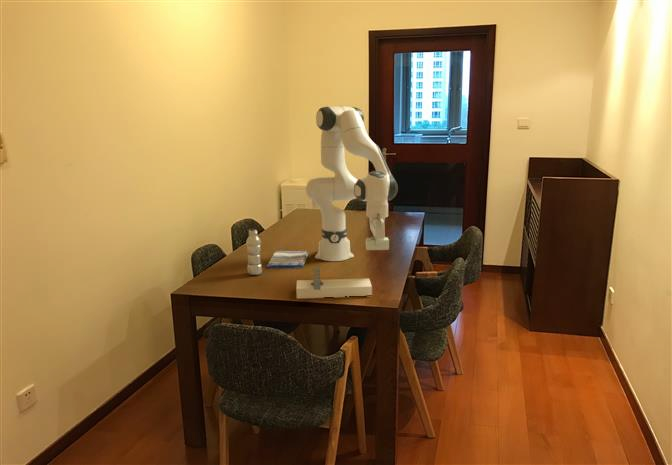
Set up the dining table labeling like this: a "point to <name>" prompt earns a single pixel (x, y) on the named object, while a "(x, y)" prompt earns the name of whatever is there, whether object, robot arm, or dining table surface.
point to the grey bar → (316, 278)
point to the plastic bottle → (254, 253)
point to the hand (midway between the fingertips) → (377, 245)
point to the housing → (334, 288)
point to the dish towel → (288, 259)
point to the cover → (372, 244)
